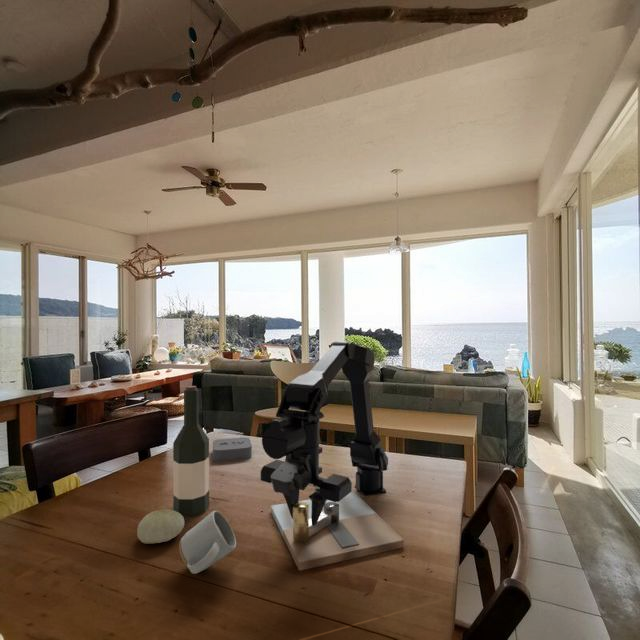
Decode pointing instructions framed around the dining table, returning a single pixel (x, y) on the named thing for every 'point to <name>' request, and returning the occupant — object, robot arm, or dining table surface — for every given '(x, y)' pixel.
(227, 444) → the streaming box
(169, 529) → the sea urchin shell
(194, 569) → the ceramic mug
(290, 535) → the door board
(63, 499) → the dining table surface
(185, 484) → the wine bottle
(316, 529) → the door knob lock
